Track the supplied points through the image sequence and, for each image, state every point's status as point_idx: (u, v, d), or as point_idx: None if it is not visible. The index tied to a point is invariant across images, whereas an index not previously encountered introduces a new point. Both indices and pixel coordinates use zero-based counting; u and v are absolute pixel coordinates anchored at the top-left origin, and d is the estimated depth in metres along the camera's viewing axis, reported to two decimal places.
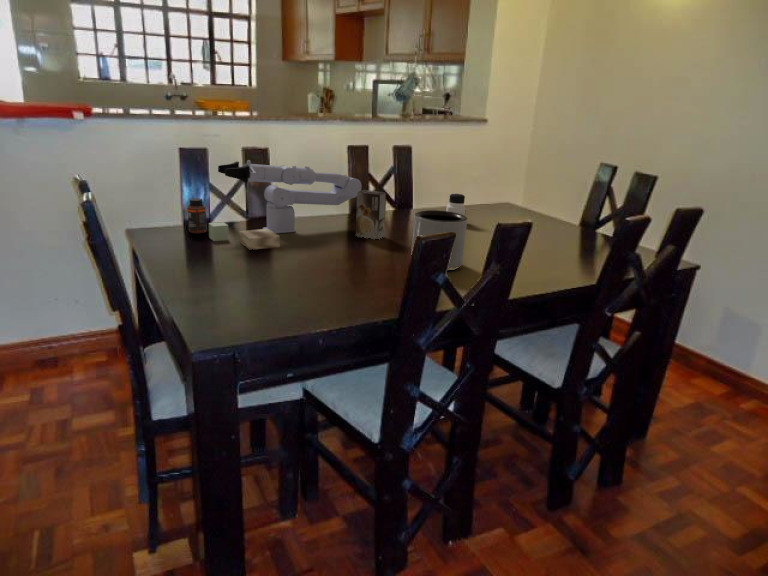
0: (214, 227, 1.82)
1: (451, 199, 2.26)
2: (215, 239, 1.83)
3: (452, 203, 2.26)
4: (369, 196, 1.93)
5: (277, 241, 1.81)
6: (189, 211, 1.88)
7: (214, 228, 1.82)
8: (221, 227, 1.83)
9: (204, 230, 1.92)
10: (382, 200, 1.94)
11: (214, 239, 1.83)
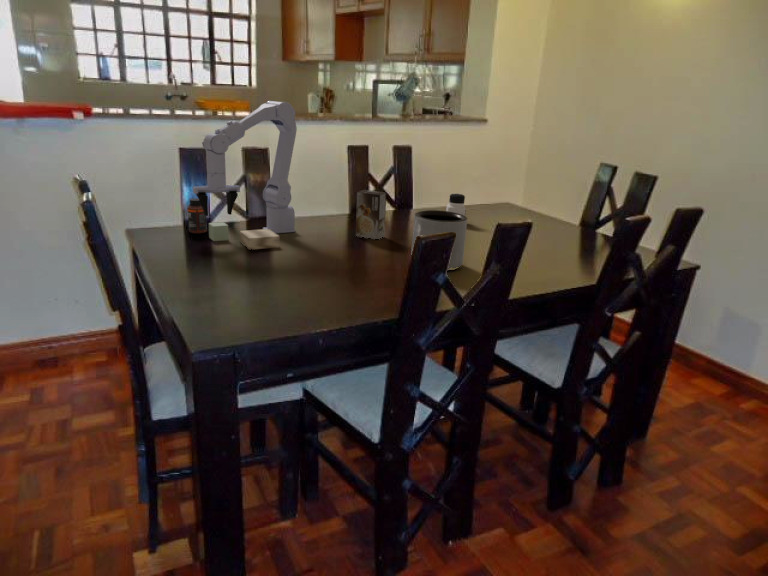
0: (214, 227, 1.82)
1: (451, 199, 2.26)
2: (215, 239, 1.83)
3: (452, 203, 2.26)
4: (369, 196, 1.93)
5: (277, 241, 1.80)
6: (189, 211, 1.88)
7: (214, 228, 1.82)
8: (221, 227, 1.83)
9: (204, 230, 1.92)
10: (382, 200, 1.94)
11: (214, 239, 1.83)
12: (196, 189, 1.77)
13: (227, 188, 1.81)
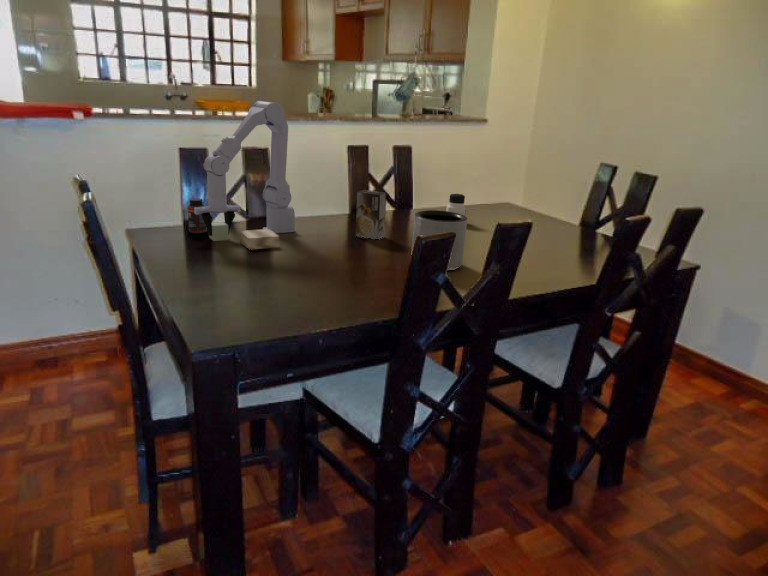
0: (214, 227, 1.82)
1: (451, 199, 2.26)
2: (215, 239, 1.83)
3: (452, 203, 2.26)
4: (369, 196, 1.93)
5: (277, 241, 1.80)
6: (189, 211, 1.88)
7: (214, 228, 1.82)
8: (221, 227, 1.83)
9: (204, 230, 1.92)
10: (382, 200, 1.94)
11: (214, 239, 1.83)
12: (197, 210, 1.79)
13: (228, 208, 1.83)
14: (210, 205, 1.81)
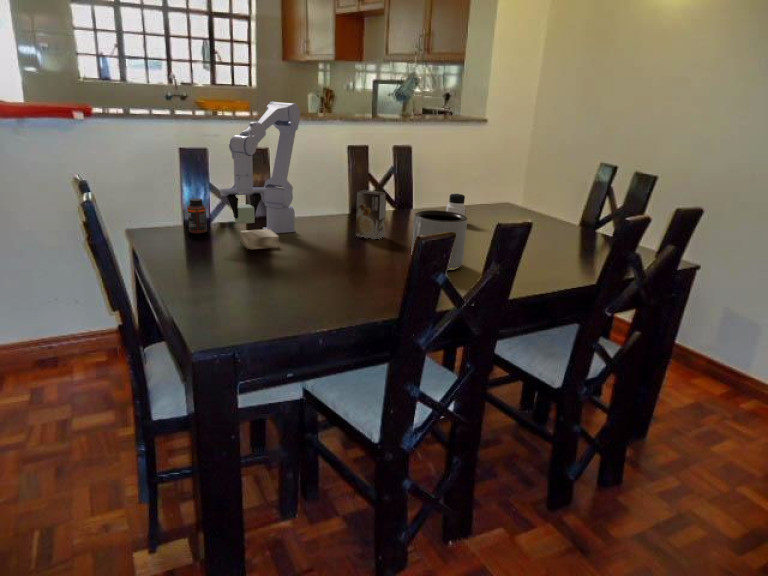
0: (240, 209, 1.77)
1: (451, 199, 2.26)
2: (241, 221, 1.79)
3: (452, 203, 2.26)
4: (369, 196, 1.93)
5: (276, 241, 1.80)
6: (189, 211, 1.88)
7: (240, 210, 1.78)
8: (247, 209, 1.79)
9: (204, 230, 1.92)
10: (382, 200, 1.94)
11: (240, 221, 1.79)
12: (223, 191, 1.74)
13: (254, 190, 1.78)
14: (236, 186, 1.76)
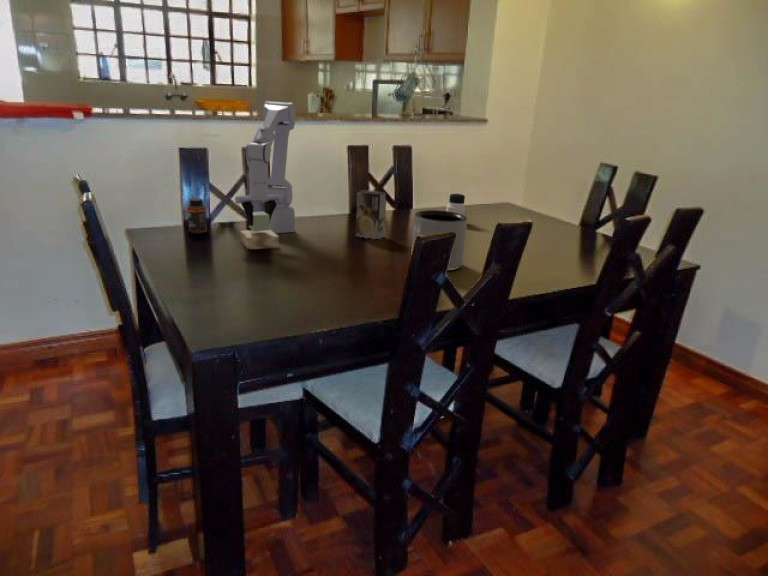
0: (255, 216, 1.77)
1: (451, 199, 2.26)
2: (256, 229, 1.78)
3: (452, 203, 2.26)
4: (369, 196, 1.93)
5: (276, 241, 1.80)
6: (189, 211, 1.88)
7: (255, 217, 1.77)
8: (262, 216, 1.78)
9: (204, 230, 1.92)
10: (382, 200, 1.94)
11: (255, 229, 1.78)
12: (239, 199, 1.74)
13: (269, 198, 1.78)
14: (251, 194, 1.75)
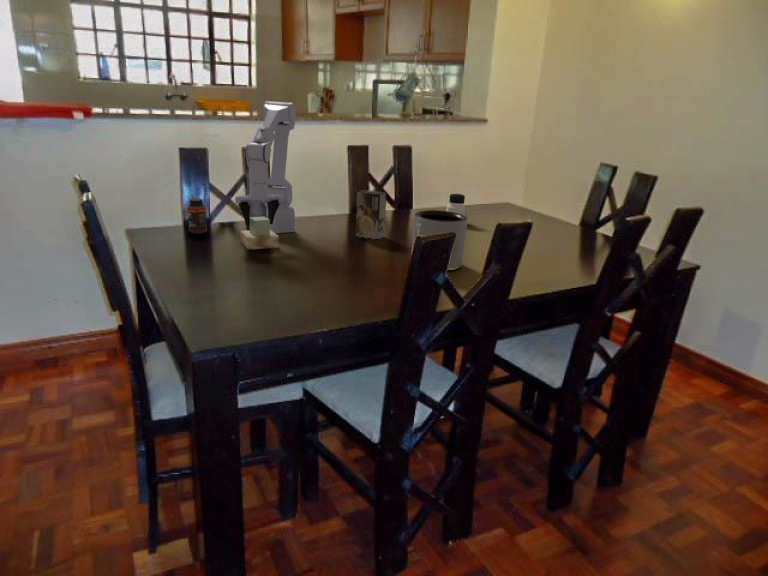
0: (256, 221, 1.77)
1: (451, 199, 2.26)
2: (256, 234, 1.79)
3: (452, 203, 2.26)
4: (369, 196, 1.93)
5: (276, 242, 1.80)
6: (189, 211, 1.88)
7: (256, 222, 1.77)
8: (263, 221, 1.78)
9: (204, 230, 1.92)
10: (382, 200, 1.94)
11: (255, 234, 1.78)
12: (239, 199, 1.74)
13: (269, 198, 1.78)
14: (251, 194, 1.75)
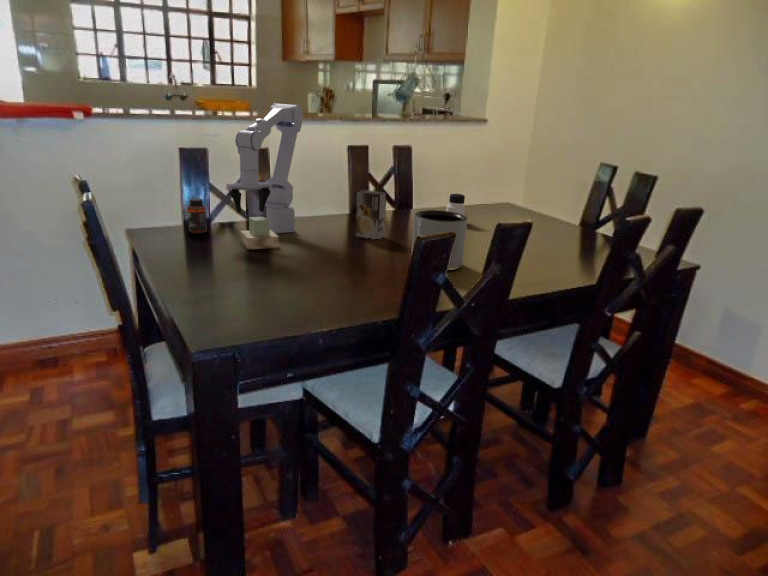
0: (255, 221, 1.77)
1: (451, 199, 2.26)
2: (256, 234, 1.79)
3: (452, 203, 2.26)
4: (369, 196, 1.93)
5: (276, 242, 1.80)
6: (189, 211, 1.88)
7: (255, 222, 1.77)
8: (262, 221, 1.78)
9: (204, 230, 1.92)
10: (382, 200, 1.94)
11: (255, 234, 1.78)
12: (230, 186, 1.75)
13: (260, 185, 1.79)
14: (242, 181, 1.77)
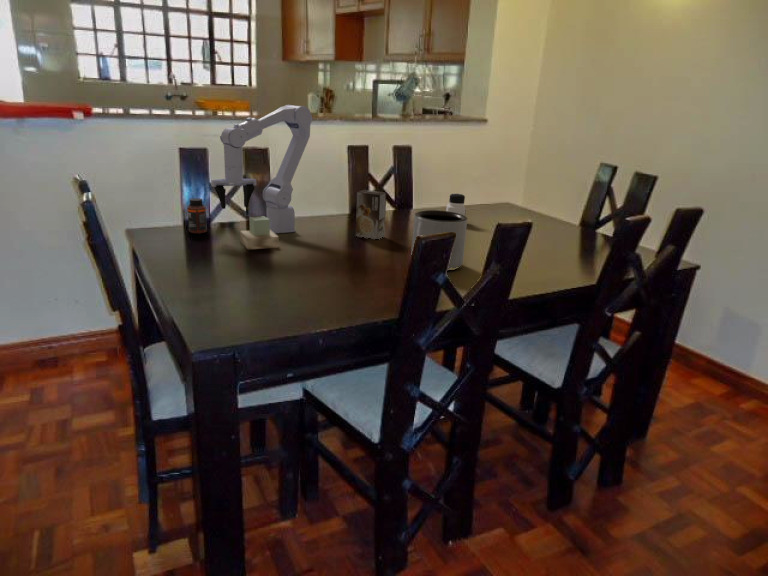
0: (255, 221, 1.78)
1: (451, 199, 2.26)
2: (256, 233, 1.79)
3: (452, 203, 2.26)
4: (369, 196, 1.93)
5: (276, 242, 1.80)
6: (189, 211, 1.88)
7: (255, 222, 1.78)
8: (262, 221, 1.79)
9: (204, 230, 1.92)
10: (382, 200, 1.94)
11: (255, 233, 1.79)
12: (214, 182, 1.80)
13: (244, 181, 1.84)
14: (227, 177, 1.82)
